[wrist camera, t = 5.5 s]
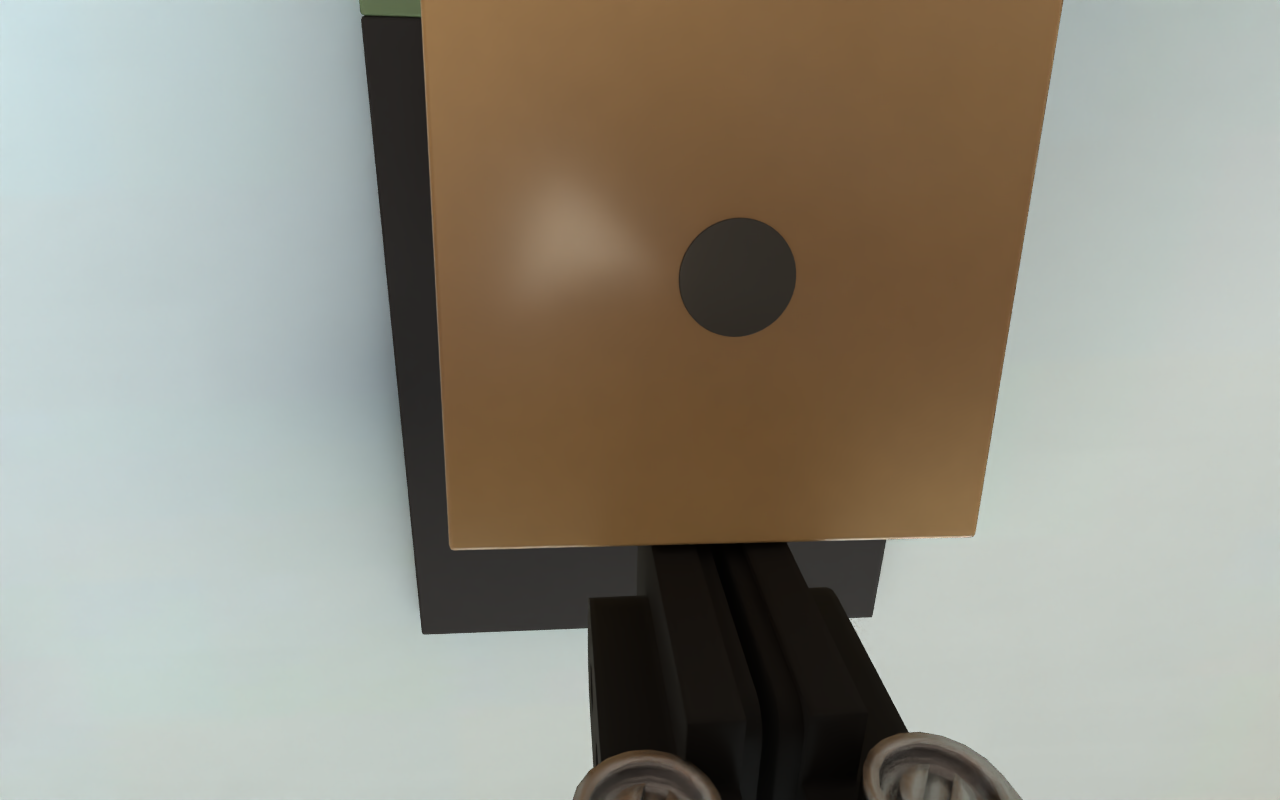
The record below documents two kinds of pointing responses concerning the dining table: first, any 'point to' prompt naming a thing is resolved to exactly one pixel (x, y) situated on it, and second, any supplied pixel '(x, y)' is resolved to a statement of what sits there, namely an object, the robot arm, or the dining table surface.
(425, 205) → the dice mat
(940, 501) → the die
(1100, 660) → the dining table surface
